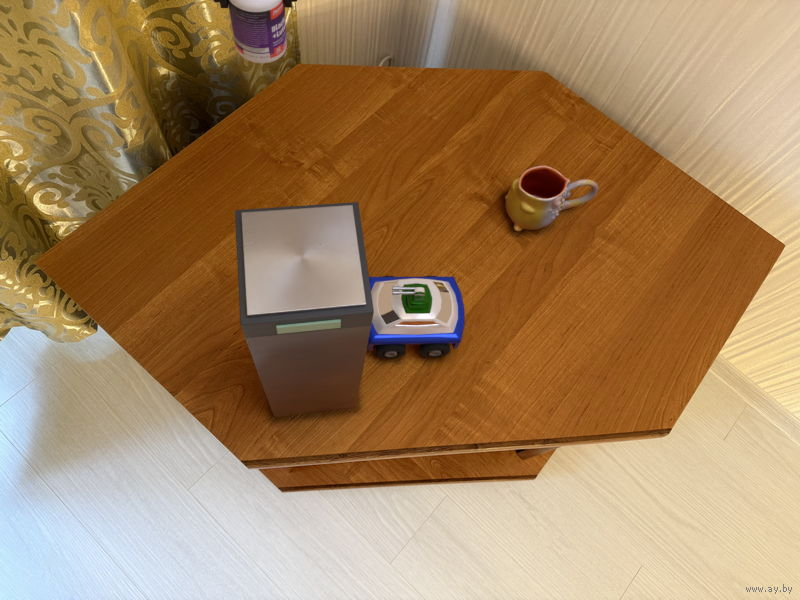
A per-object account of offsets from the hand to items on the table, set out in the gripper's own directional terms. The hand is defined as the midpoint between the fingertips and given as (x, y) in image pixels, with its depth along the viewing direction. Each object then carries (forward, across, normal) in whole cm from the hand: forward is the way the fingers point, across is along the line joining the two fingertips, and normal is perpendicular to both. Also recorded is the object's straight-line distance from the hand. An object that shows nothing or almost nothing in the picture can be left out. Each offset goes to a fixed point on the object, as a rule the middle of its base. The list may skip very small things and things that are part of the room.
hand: (256, 1), depth 58 cm
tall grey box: (+23, -2, +31) cm, 39 cm away
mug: (+23, -35, +12) cm, 44 cm away
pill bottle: (+6, 0, 0) cm, 6 cm away
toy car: (+23, -14, +26) cm, 38 cm away
